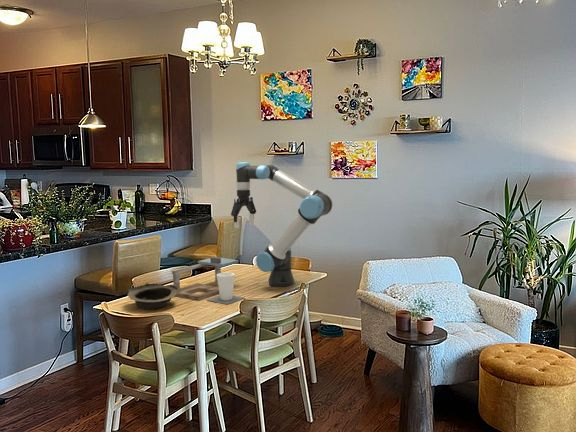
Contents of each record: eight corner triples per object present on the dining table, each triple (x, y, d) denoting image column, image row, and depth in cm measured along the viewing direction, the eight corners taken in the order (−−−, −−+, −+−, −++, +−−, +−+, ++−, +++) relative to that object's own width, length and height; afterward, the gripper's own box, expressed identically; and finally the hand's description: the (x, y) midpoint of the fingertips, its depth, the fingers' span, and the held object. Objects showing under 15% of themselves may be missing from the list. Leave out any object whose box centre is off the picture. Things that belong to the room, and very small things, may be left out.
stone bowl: (157, 296, 295) (157, 279, 293) (187, 307, 279) (188, 290, 278) (117, 305, 276) (117, 288, 274) (147, 318, 260) (148, 299, 259)
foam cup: (237, 296, 291) (236, 272, 289) (233, 301, 282) (232, 276, 280) (219, 296, 292) (219, 272, 291) (215, 300, 283) (214, 276, 281)
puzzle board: (245, 285, 318) (244, 262, 316) (198, 300, 285) (197, 275, 284) (216, 280, 330) (216, 258, 328) (168, 295, 298) (168, 270, 296)
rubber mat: (244, 298, 289) (244, 297, 289) (227, 304, 277) (227, 303, 277) (224, 294, 296) (224, 294, 296) (207, 300, 285) (206, 299, 285)
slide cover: (238, 262, 315) (238, 255, 314) (222, 266, 303) (222, 259, 303) (214, 259, 325) (214, 252, 324) (198, 263, 313) (197, 255, 313)
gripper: (251, 187, 322) (252, 223, 325) (223, 190, 302) (224, 228, 304) (261, 188, 318) (262, 224, 320) (234, 191, 297) (235, 229, 300)
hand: (244, 226), depth 312 cm, fingers open, 13 cm apart
